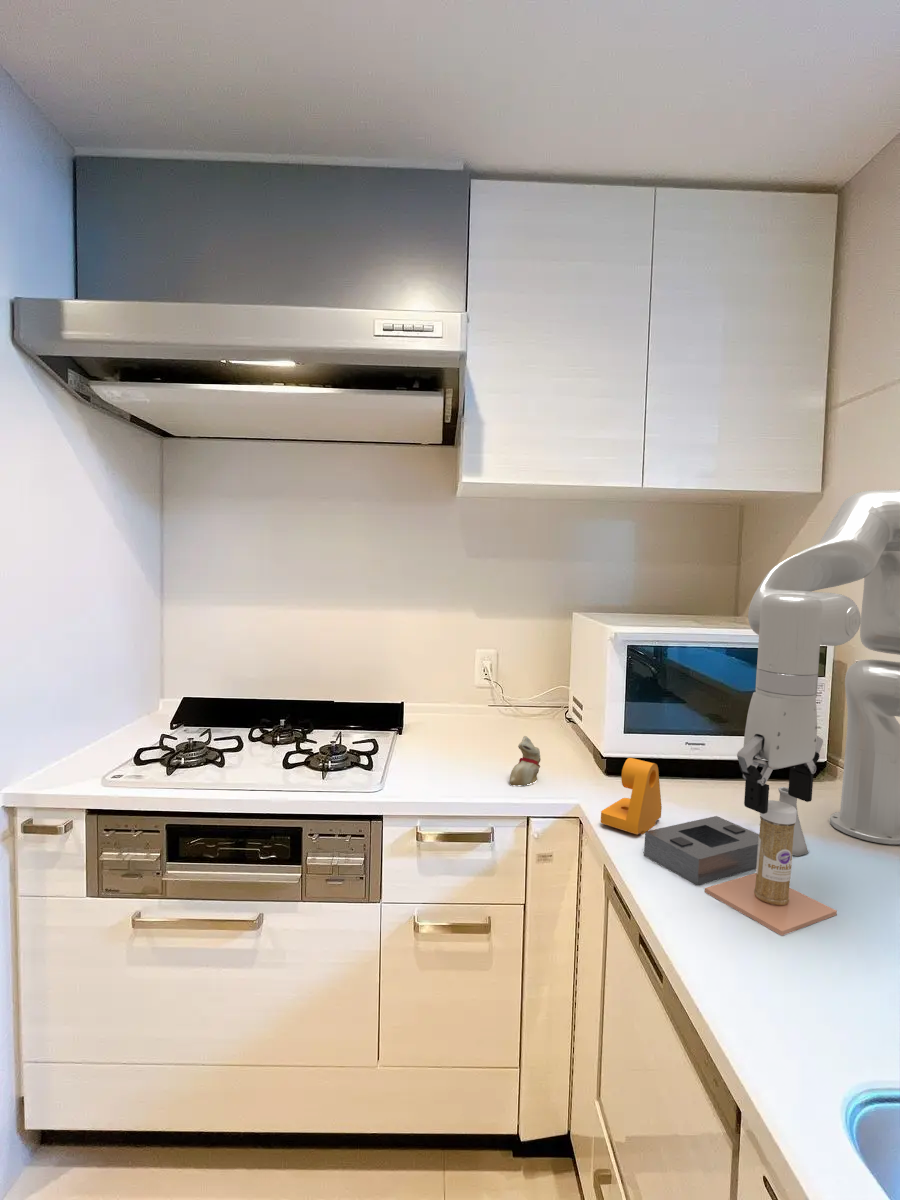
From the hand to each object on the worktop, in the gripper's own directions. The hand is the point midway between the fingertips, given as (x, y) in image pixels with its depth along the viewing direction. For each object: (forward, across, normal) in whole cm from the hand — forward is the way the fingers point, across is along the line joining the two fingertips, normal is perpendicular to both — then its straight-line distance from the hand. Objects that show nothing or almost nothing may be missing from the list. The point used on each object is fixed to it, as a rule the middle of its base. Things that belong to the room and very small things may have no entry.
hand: (778, 804), depth 90 cm
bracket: (+15, -1, -29) cm, 32 cm away
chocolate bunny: (+15, +4, -55) cm, 57 cm away
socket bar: (+14, -2, -13) cm, 19 cm away
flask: (+15, -19, -11) cm, 27 cm away
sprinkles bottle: (+14, 0, 0) cm, 14 cm away
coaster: (+14, +1, 0) cm, 14 cm away
